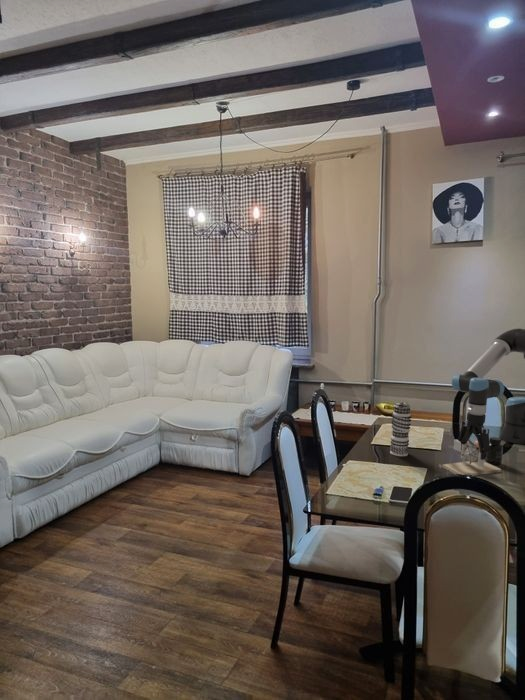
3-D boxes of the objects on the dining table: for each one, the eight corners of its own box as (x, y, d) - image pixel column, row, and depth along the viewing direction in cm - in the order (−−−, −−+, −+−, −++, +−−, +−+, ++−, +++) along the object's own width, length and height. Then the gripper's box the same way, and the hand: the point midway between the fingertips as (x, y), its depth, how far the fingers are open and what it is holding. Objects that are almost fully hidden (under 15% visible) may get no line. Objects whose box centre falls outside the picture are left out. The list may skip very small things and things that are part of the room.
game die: (476, 471, 218) (487, 459, 211) (457, 463, 219) (468, 451, 212) (476, 456, 225) (488, 444, 218) (459, 448, 226) (469, 436, 219)
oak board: (480, 462, 229) (480, 459, 229) (500, 471, 218) (501, 469, 218) (442, 467, 221) (442, 464, 221) (461, 477, 210) (461, 474, 210)
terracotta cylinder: (479, 452, 242) (480, 439, 241) (487, 456, 237) (488, 442, 236) (471, 453, 240) (472, 440, 239) (479, 457, 236) (480, 443, 235)
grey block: (461, 448, 248) (462, 439, 247) (468, 451, 244) (469, 442, 243) (453, 449, 246) (454, 439, 246) (460, 452, 242) (461, 443, 241)
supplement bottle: (500, 462, 230) (502, 437, 228) (502, 467, 224) (504, 441, 222) (484, 460, 232) (486, 435, 231) (485, 464, 226) (488, 439, 224)
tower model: (394, 457, 233) (398, 405, 229) (385, 450, 242) (389, 400, 238) (412, 456, 235) (416, 405, 231) (403, 449, 244) (406, 400, 240)
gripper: (451, 407, 225) (448, 454, 228) (489, 420, 205) (484, 472, 208) (464, 406, 228) (460, 452, 231) (503, 419, 207) (498, 470, 210)
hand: (472, 461), depth 219 cm, fingers closed on game die, 9 cm apart
